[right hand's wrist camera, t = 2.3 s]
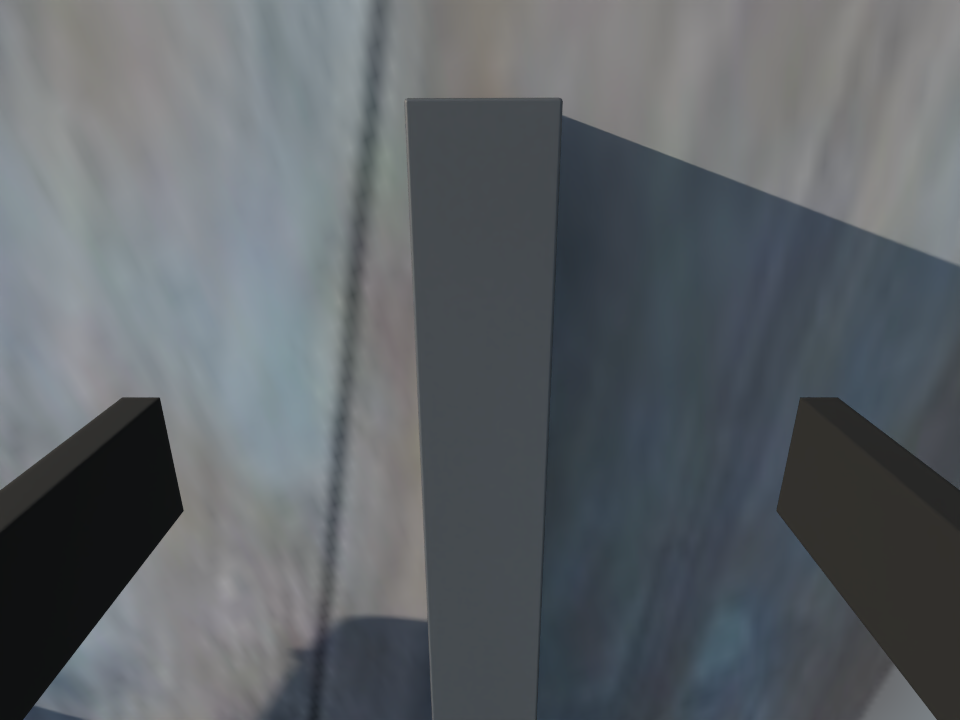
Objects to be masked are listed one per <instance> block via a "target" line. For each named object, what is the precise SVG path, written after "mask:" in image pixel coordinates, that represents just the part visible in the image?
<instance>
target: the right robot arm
mask: <svg viewBox="0 0 960 720" xmlns="http://www.w3.org/2000/svg"><path fill="white" fill-rule="evenodd" d="M183 511H184V510H183V506H182V501H181V496H180V491H179V487H178V482H177V477H176V472H175V468H174V463H173V458H172V453H171V449H170V444H169V439H168V435H167V430H166V425H165V420H164V416H163V411H162V406H161V401H160V398H121V399H120V400H118V401H117V402H116V403H115V404H113V405H112V406H111V407H109V408H108V409H107V410H105V411H104V412H103V413H101V414H100V415H99V416H97V417H96V418H95V419H94V420H92V421H91V422H90V423H88V424H87V425H86V426H84V427H83V428H82V429H80V430H79V431H78V432H76V433H75V434H74V435H72V436H71V437H70V438H69V439H67V440H66V441H65V442H63V443H62V444H61V445H59V446H58V447H57V448H55V449H54V450H53V451H51V452H50V453H49V454H47V455H46V456H45V457H44V458H42V459H41V460H40V461H38V462H37V463H36V464H34V465H33V466H32V467H30V468H29V469H28V470H26V471H25V472H24V473H23V474H21V475H20V476H19V477H17V478H16V479H15V480H13V481H12V482H11V483H9V484H8V485H7V486H5V487H4V488H3V489H1V490H0V720H23V719H24V718H25V716H26V715H27V714H28V712H29V711H30V710H31V709H32V707H33V706H34V705H35V703H36V702H37V701H38V699H39V698H40V697H41V696H42V694H43V693H44V692H45V690H46V689H47V688H48V686H49V685H50V684H51V683H52V681H53V680H54V679H55V677H56V676H57V675H58V673H59V672H60V671H61V670H62V668H63V667H64V666H65V664H66V663H67V662H68V660H69V659H70V658H71V657H72V655H73V654H74V653H75V651H76V650H77V649H78V647H79V646H80V645H81V644H82V642H83V641H84V640H85V638H86V637H87V636H88V634H89V633H90V632H91V631H92V629H93V628H94V627H95V625H96V624H97V623H98V621H99V620H100V619H101V618H102V616H103V615H104V614H105V612H106V611H107V610H108V608H109V607H110V606H111V605H112V603H113V602H114V601H115V599H116V598H117V597H118V595H119V594H120V593H121V592H122V590H123V589H124V588H125V586H126V585H127V584H128V582H129V581H130V580H131V579H132V577H133V576H134V575H135V573H136V572H137V571H138V569H139V568H140V567H141V566H142V564H143V563H144V562H145V560H146V559H147V558H148V556H149V555H150V554H151V553H152V551H153V550H154V549H155V547H156V546H157V545H158V543H159V542H160V541H161V540H162V538H163V537H164V536H165V534H166V533H167V532H168V530H169V529H170V528H171V527H172V525H173V524H174V523H175V521H176V520H177V519H178V517H179V516H180V515H181V514H182V512H183ZM776 511H777V512H778V514H779V515H780V516H781V517H782V519H783V520H784V521H785V523H786V524H787V525H788V527H789V528H790V529H791V530H792V532H793V533H794V534H795V536H796V537H797V538H798V540H799V541H800V542H801V543H802V545H803V546H804V547H805V549H806V550H807V551H808V553H809V554H810V555H811V556H812V558H813V559H814V560H815V562H816V563H817V564H818V566H819V567H820V568H821V569H822V571H823V572H824V573H825V575H826V576H827V577H828V579H829V580H830V581H831V582H832V584H833V585H834V586H835V588H836V589H837V590H838V592H839V593H840V594H841V595H842V597H843V598H844V599H845V601H846V602H847V603H848V605H849V606H850V607H851V608H852V610H853V611H854V612H855V614H856V615H857V616H858V618H859V619H860V620H861V621H862V623H863V624H864V625H865V627H866V628H867V629H868V631H869V632H870V633H871V634H872V636H873V637H874V638H875V640H876V641H877V642H878V644H879V645H880V646H881V647H882V649H883V650H884V651H885V653H886V654H887V655H888V657H889V658H890V659H891V660H892V662H893V663H894V664H895V666H896V667H897V668H898V670H899V671H900V672H901V673H902V675H903V676H904V677H905V679H906V680H907V681H908V683H909V684H910V685H911V686H912V688H913V689H914V690H915V692H916V693H917V694H918V696H919V697H920V698H921V699H922V701H923V702H924V703H925V705H926V706H927V707H928V709H929V710H930V711H931V712H932V714H933V715H934V716H935V718H936V719H937V720H960V490H959V489H957V488H956V487H955V486H953V485H952V484H951V483H949V482H948V481H947V480H945V479H944V478H943V477H941V476H940V475H939V474H937V473H936V472H935V471H934V470H932V469H931V468H930V467H928V466H927V465H926V464H924V463H923V462H922V461H920V460H919V459H918V458H916V457H915V456H914V455H913V454H911V453H910V452H909V451H907V450H906V449H905V448H903V447H902V446H901V445H899V444H898V443H897V442H895V441H894V440H893V439H891V438H890V437H889V436H888V435H886V434H885V433H884V432H882V431H881V430H880V429H878V428H877V427H876V426H874V425H873V424H872V423H870V422H869V421H868V420H866V419H865V418H864V417H863V416H861V415H860V414H859V413H857V412H856V411H855V410H853V409H852V408H851V407H849V406H848V405H847V404H845V403H844V402H843V401H842V400H840V399H839V398H800V401H799V406H798V411H797V416H796V420H795V425H794V430H793V435H792V439H791V444H790V449H789V453H788V458H787V463H786V468H785V472H784V477H783V482H782V487H781V491H780V496H779V501H778V506H777V510H776Z"/></svg>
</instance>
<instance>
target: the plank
mask: <svg viewBox="0 0 960 720" xmlns="http://www.w3.org/2000/svg"><path fill="white" fill-rule="evenodd" d="M562 105H563V101H562V99H561V98H407V99H405V125H406V147H407V169H408V192H409V214H410V236H411V258H412V281H413V303H414V325H415V347H416V370H417V392H418V414H419V436H420V459H421V481H422V503H423V526H424V548H425V570H426V592H427V615H428V637H429V659H430V681H431V704H432V720H537V697H538V674H539V650H540V626H541V603H542V579H543V555H544V531H545V508H546V484H547V460H548V437H549V413H550V389H551V365H552V342H553V318H554V294H555V271H556V247H557V223H558V199H559V176H560V152H561V128H562Z"/></svg>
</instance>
